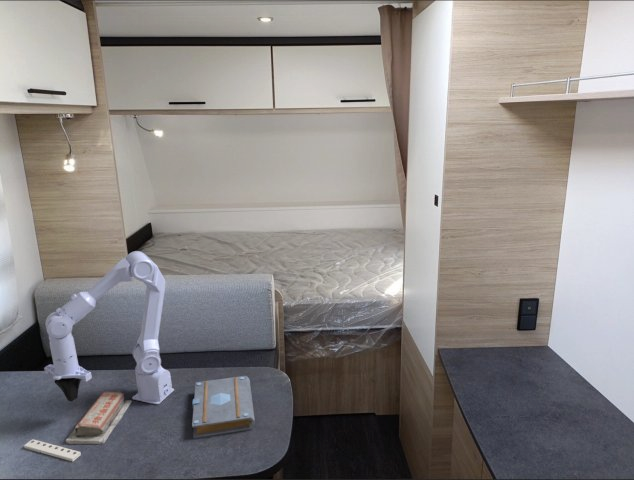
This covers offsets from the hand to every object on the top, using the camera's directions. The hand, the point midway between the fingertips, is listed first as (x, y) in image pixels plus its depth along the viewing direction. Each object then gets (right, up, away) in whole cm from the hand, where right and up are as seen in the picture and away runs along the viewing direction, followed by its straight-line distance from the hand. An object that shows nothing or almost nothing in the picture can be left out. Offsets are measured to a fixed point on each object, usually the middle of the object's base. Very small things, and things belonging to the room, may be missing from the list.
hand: (72, 399), depth 127 cm
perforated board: (+1, -9, -11) cm, 15 cm away
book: (+41, -5, +4) cm, 42 cm away
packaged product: (+8, -7, 0) cm, 11 cm away
